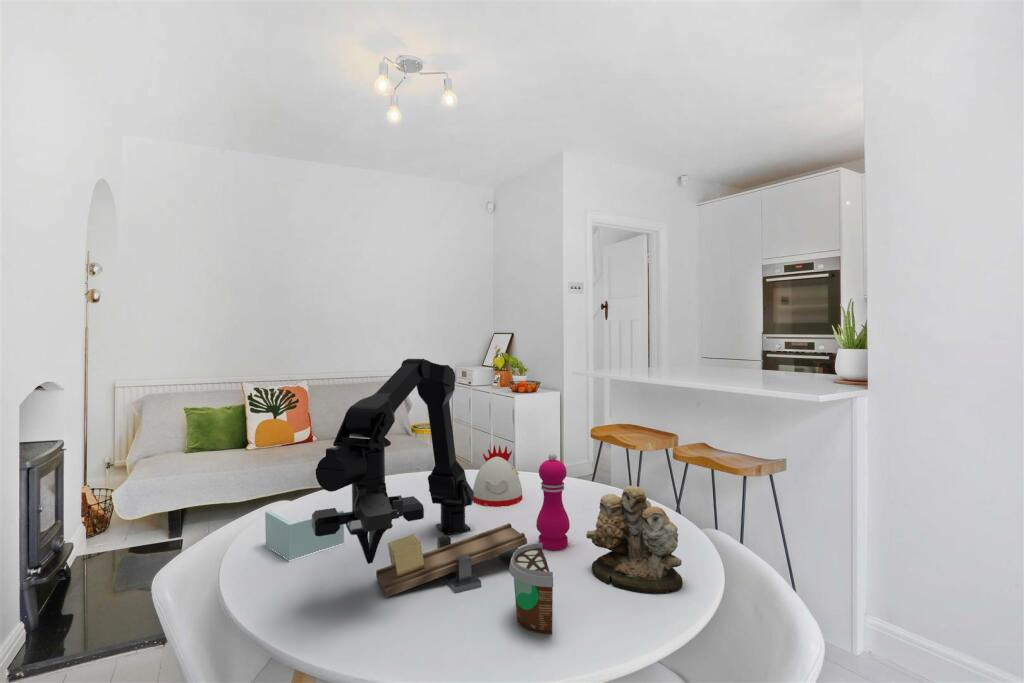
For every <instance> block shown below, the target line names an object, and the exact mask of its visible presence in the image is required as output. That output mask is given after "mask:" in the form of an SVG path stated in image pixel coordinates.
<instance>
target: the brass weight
mask: <svg viewBox="0 0 1024 683" xmlns="http://www.w3.org/2000/svg"><path fill="white" fill-rule="evenodd" d="M421 543H422V542H421V541H420V540H419V539H418V537H417V536H416V535H415V534H414V533H413V534H412V533H411V534H410V535H407V536H403V537H400V538H398V539H395V540H392V541H389V542H387V546H388V547H387V548H388V553H389V559H390V565H391V566H392V571H393V573H394V574H395V576H396V578H397V579H398V578H401V577H404V576H406V575H409V574H412V573H415V572H417V571H420V570H423V569H425V567H424V560H423V554H424V553H423V549H422V544H421Z"/></svg>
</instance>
